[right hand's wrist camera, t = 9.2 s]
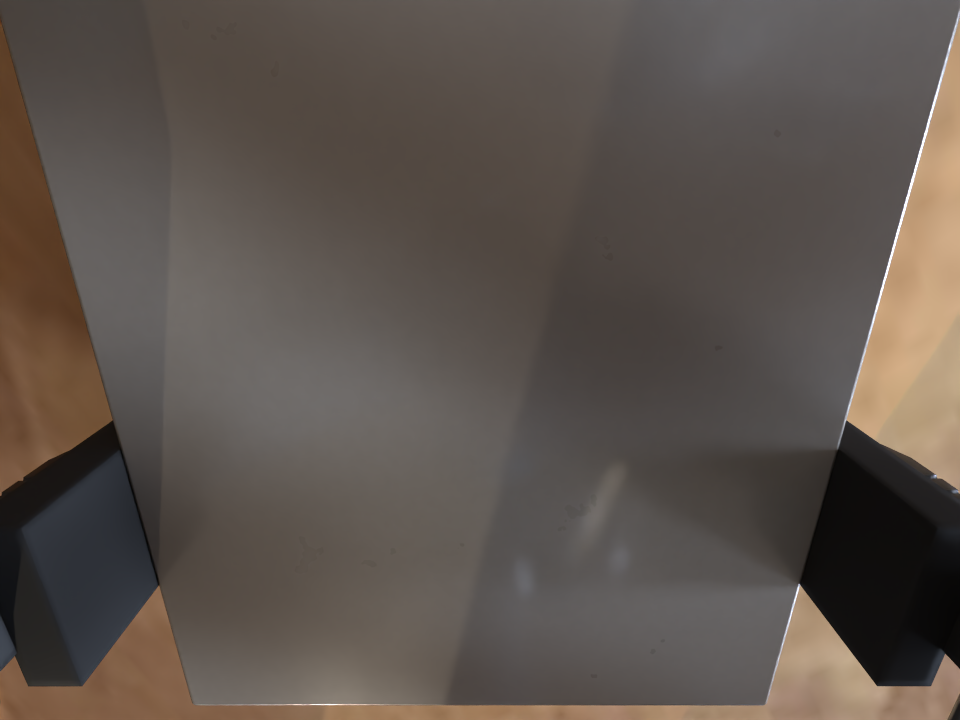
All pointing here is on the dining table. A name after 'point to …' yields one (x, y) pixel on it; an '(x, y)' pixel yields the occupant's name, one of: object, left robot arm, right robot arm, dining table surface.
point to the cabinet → (479, 322)
